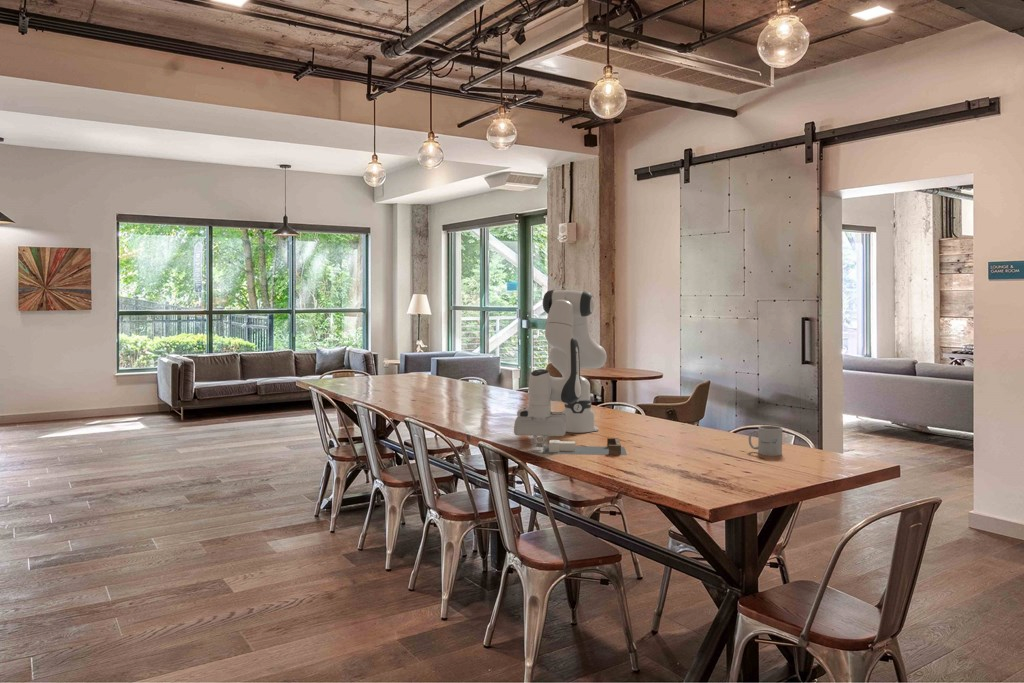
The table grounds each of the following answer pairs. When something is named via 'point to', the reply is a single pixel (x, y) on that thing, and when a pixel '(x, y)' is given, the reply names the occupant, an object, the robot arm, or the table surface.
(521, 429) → the robot arm
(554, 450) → the tee
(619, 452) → the dock
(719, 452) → the table surface
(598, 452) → the mat
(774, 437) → the mug
